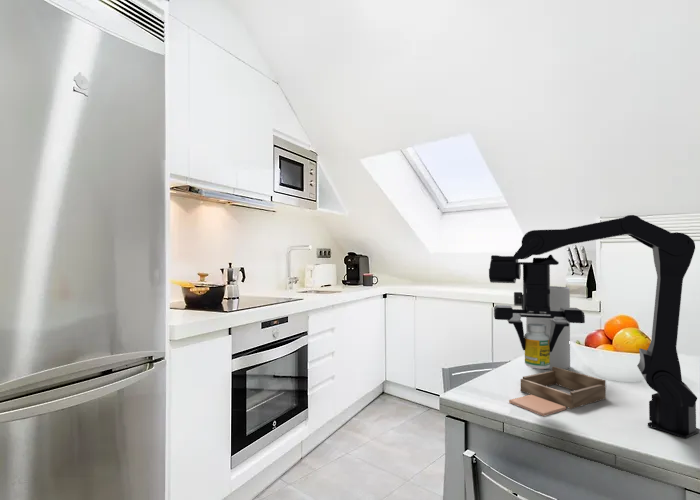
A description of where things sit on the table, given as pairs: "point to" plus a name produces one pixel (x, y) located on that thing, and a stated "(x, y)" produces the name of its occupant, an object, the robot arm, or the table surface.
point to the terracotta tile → (537, 405)
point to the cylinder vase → (562, 346)
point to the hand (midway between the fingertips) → (537, 350)
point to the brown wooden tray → (583, 385)
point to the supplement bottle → (537, 346)
